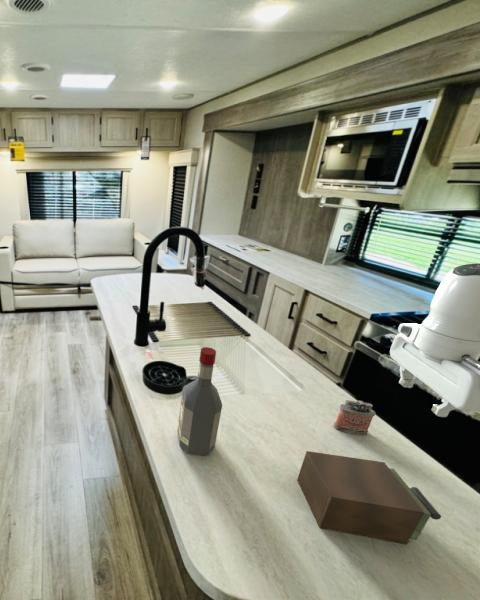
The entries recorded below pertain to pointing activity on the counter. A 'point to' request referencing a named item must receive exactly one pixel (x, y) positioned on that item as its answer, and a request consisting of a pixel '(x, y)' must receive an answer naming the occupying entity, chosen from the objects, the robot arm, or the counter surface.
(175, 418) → the counter surface
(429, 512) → the drawer
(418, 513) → the cabinet
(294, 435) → the counter surface
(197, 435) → the liquor
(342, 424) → the small labelled tin can
